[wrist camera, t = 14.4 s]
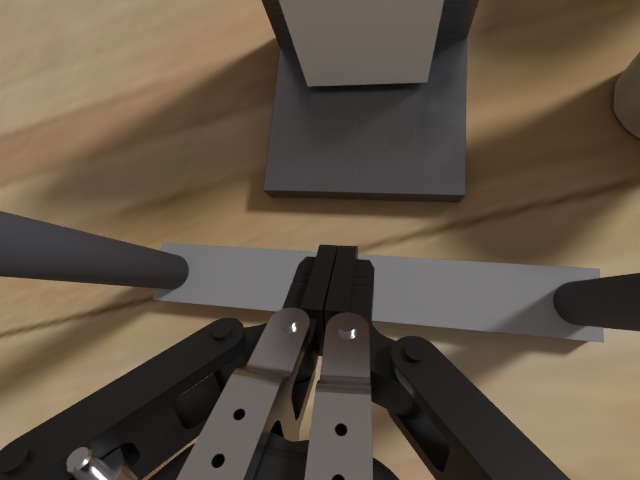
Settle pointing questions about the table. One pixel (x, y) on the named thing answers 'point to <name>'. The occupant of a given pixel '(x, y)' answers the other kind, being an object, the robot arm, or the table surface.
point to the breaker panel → (372, 126)
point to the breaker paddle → (363, 39)
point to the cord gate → (280, 265)
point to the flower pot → (629, 97)
